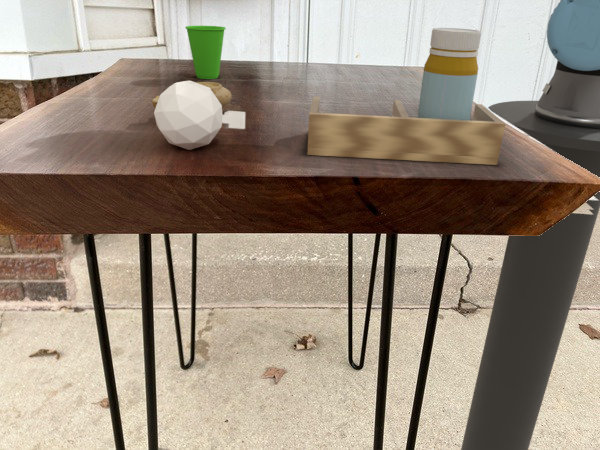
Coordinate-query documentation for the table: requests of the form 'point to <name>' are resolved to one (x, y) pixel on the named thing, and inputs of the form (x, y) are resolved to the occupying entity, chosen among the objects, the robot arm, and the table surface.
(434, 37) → the bottle
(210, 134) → the perfume bottle
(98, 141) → the table surface
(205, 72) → the cup
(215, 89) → the oil lamp
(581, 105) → the robot arm
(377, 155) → the rack
